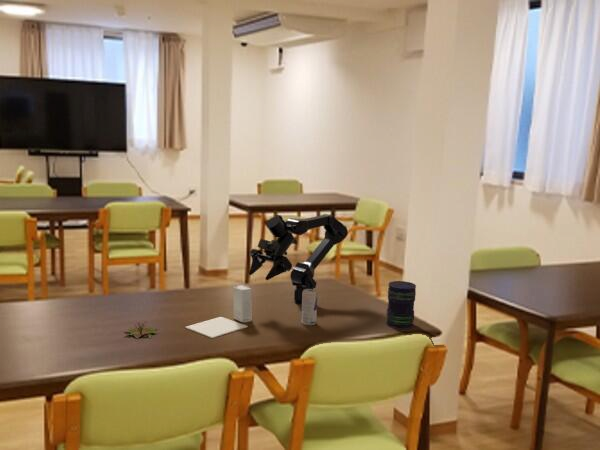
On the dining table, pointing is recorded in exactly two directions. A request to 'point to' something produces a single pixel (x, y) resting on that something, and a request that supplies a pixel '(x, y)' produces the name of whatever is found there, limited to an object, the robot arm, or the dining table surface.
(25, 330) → the dining table surface
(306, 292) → the energy drink
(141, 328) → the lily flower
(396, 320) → the storage jar
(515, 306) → the dining table surface
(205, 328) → the mat
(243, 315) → the skincare box
